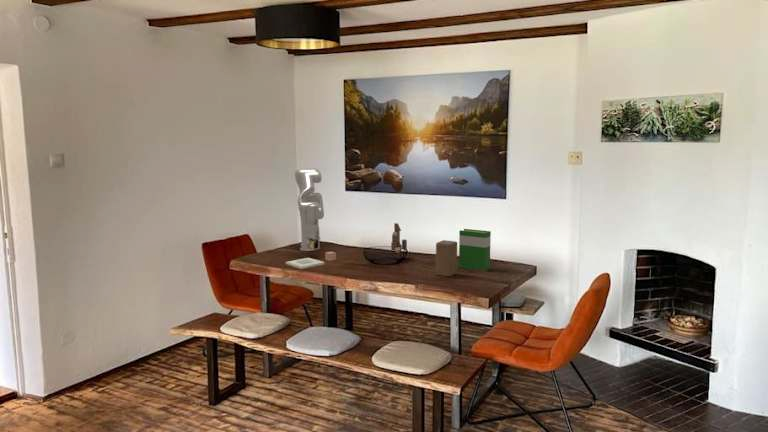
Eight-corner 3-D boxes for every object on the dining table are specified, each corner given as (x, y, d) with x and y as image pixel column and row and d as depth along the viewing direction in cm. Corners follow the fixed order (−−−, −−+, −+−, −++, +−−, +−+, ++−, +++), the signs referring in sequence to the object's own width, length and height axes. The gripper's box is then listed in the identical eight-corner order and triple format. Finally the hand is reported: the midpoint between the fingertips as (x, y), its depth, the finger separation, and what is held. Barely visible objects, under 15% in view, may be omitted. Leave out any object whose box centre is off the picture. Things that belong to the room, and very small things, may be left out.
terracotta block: (325, 259, 379) (325, 252, 378) (331, 258, 382) (331, 251, 382) (329, 261, 375) (329, 253, 375) (335, 259, 379) (335, 252, 378)
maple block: (307, 248, 387) (307, 239, 386) (314, 246, 391) (314, 238, 390) (312, 250, 383) (312, 241, 381) (319, 248, 386) (319, 240, 385)
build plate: (285, 264, 367) (285, 261, 367) (308, 259, 379) (308, 257, 379) (301, 268, 354) (301, 266, 354) (324, 264, 366) (324, 261, 366)
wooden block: (450, 277, 331) (450, 244, 328) (435, 275, 336) (435, 242, 333) (457, 273, 339) (457, 241, 336) (442, 271, 345) (442, 239, 342)
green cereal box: (458, 268, 354) (459, 230, 350) (464, 265, 360) (464, 228, 357) (485, 271, 344) (485, 233, 341) (489, 269, 351) (490, 231, 347)
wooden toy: (399, 262, 369) (399, 225, 365) (389, 262, 371) (389, 224, 368) (407, 257, 383) (407, 221, 379) (398, 257, 386) (398, 221, 382)
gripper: (301, 220, 387) (301, 246, 390) (315, 224, 374) (316, 250, 378) (310, 219, 392) (310, 244, 395) (324, 223, 379) (325, 248, 383)
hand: (313, 247), depth 387 cm, fingers closed on maple block, 6 cm apart
